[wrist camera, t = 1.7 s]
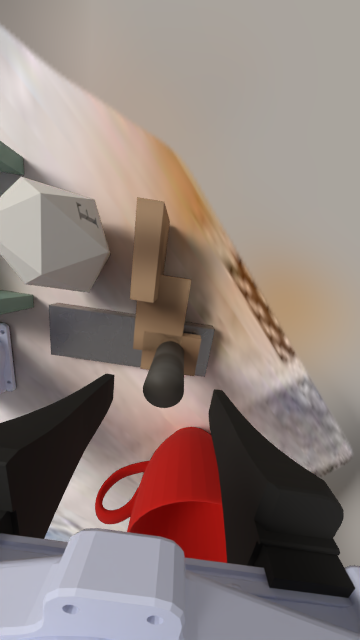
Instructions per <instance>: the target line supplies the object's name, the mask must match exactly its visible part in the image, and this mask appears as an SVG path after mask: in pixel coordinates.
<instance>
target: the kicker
mask: <svg viewBox="0 0 360 640" xmlns="http://www.w3.org/2000/svg"><path fill="white" fill-rule="evenodd" d="M169 224H170V221H169V217H168V214H167V210H166V206H165V203H164V202H163V201H157V200H151V199H144V198H138V197H137V208H136V222H135V236H134V249H133V263H132V277H131V291H130V299H132V300H137V306H136V318H135V330H134V342H133V349H138V350H142V357H141V367H140V368H141V369H148V370H149V372H148V375H147V377H146V380H145V383H144V386H143V393H144V396H145V398H146V399H147V401H148V402H149V403H151V404H152V405H154V406H156V407H160V408H168V407H172V406H174V405H176V404H177V403H179V402H180V400H181V399H182V397H183V394H184V375H190V376H194V375H195V370H196V364H197V359H198V354H199V349H200V343H201V336H200V335H194V334H188V333H183V329H184V323H185V316H186V310H187V304H188V298H189V292H190V285H191V279H185V278H178V277H171V276H165V275H164V266H165V258H166V249H167V241H168V233H169Z"/></svg>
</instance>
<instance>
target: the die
mask: <svg viewBox="0 0 360 640" xmlns="http://www.w3.org/2000/svg"><path fill="white" fill-rule="evenodd" d="M0 254H1V256H2V257H3V258H4V259H5V260H6V262H7V263H8V264H9V265H10V267H11V268H12V269H13V270H14V271H15V273H16V274H17V275H18V276H19V277H20V279H21V280H22V281H23V282H24V284H29V285H36V286H44V287H51V288H58V289H66V290H73V291H81V292H88V293H89V292H90V290H91V288H92V286H93V285H94V283H95V281H96V279H97V277H98V276H99V274H100V272H101V270H102V268H103V267H104V265H105V263H106V261H107V259H108V258H109V256H110V250H109V247H108V243H107V240H106V237H105V233H104V230H103V227H102V223H101V220H100V216H99V213H98V210H97V206H96V203H95V200H94V199H91V198H88V197H85V196H81V195H78V194H75V193H72V192H69V191H65V190H62V189H59V188H56V187H53V186H50V185H46V184H43V183H40V182H37V181H34V180H30V179H27V178H24V177H20V178H19V179H18V180H17V181H16V182H15V183H14V184H13V185H12V186H11V187H10V188H9V189H8V190H7V191H6V192H5V193H4V194H3V195H2V196H1V197H0Z"/></svg>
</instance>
